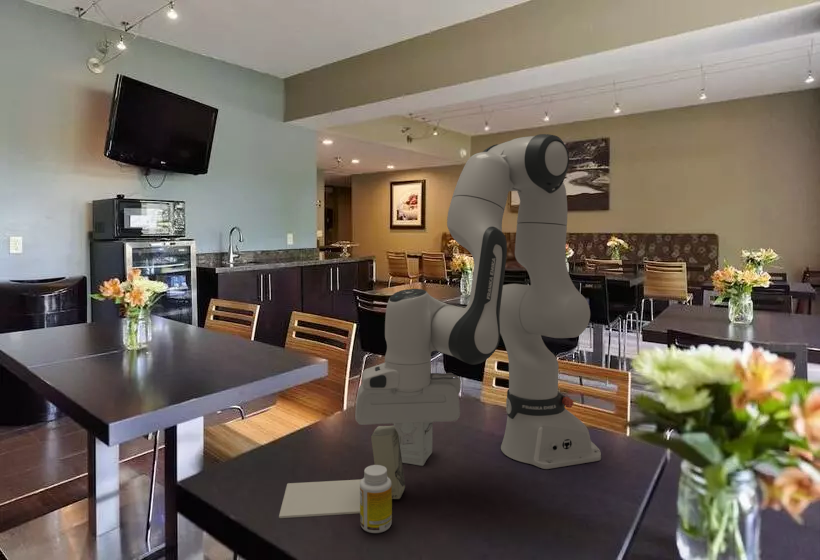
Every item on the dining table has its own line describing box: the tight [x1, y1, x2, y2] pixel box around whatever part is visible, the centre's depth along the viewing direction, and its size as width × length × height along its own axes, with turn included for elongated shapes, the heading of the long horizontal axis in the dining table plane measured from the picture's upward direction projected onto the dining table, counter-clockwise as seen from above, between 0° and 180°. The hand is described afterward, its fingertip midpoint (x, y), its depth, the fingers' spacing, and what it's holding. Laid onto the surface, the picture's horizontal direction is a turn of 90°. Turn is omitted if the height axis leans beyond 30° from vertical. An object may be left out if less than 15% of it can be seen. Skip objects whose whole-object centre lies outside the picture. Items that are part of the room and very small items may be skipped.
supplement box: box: [392, 422, 434, 467], centre depth 116 cm, size 7×7×13 cm
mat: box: [278, 478, 363, 519], centre depth 99 cm, size 18×12×1 cm, turn 96°
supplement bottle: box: [359, 464, 393, 534], centre depth 89 cm, size 6×6×10 cm
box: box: [370, 425, 406, 500], centre depth 100 cm, size 5×4×13 cm
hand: (407, 443), depth 99 cm, fingers closed
